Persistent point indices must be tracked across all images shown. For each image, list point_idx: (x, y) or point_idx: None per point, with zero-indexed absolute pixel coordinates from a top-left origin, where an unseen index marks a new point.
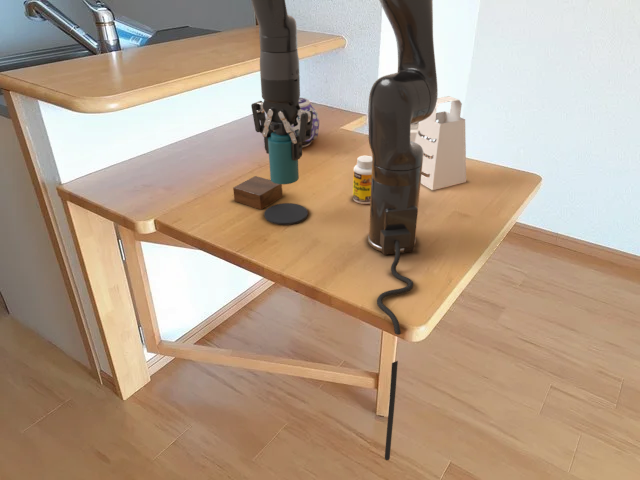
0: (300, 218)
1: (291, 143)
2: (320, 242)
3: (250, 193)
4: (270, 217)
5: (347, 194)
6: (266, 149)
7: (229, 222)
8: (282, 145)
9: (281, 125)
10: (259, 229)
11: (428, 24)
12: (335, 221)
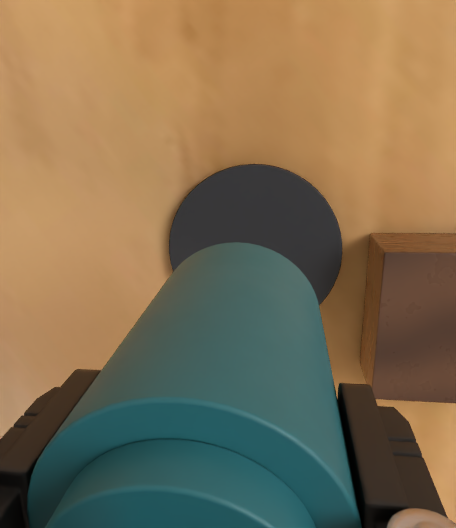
0: (177, 244)
1: (21, 472)
2: (20, 146)
3: (447, 251)
4: (281, 186)
5: None
6: (372, 403)
7: (426, 59)
8: (85, 405)
9: None
10: (267, 90)
11: None
12: (80, 299)
